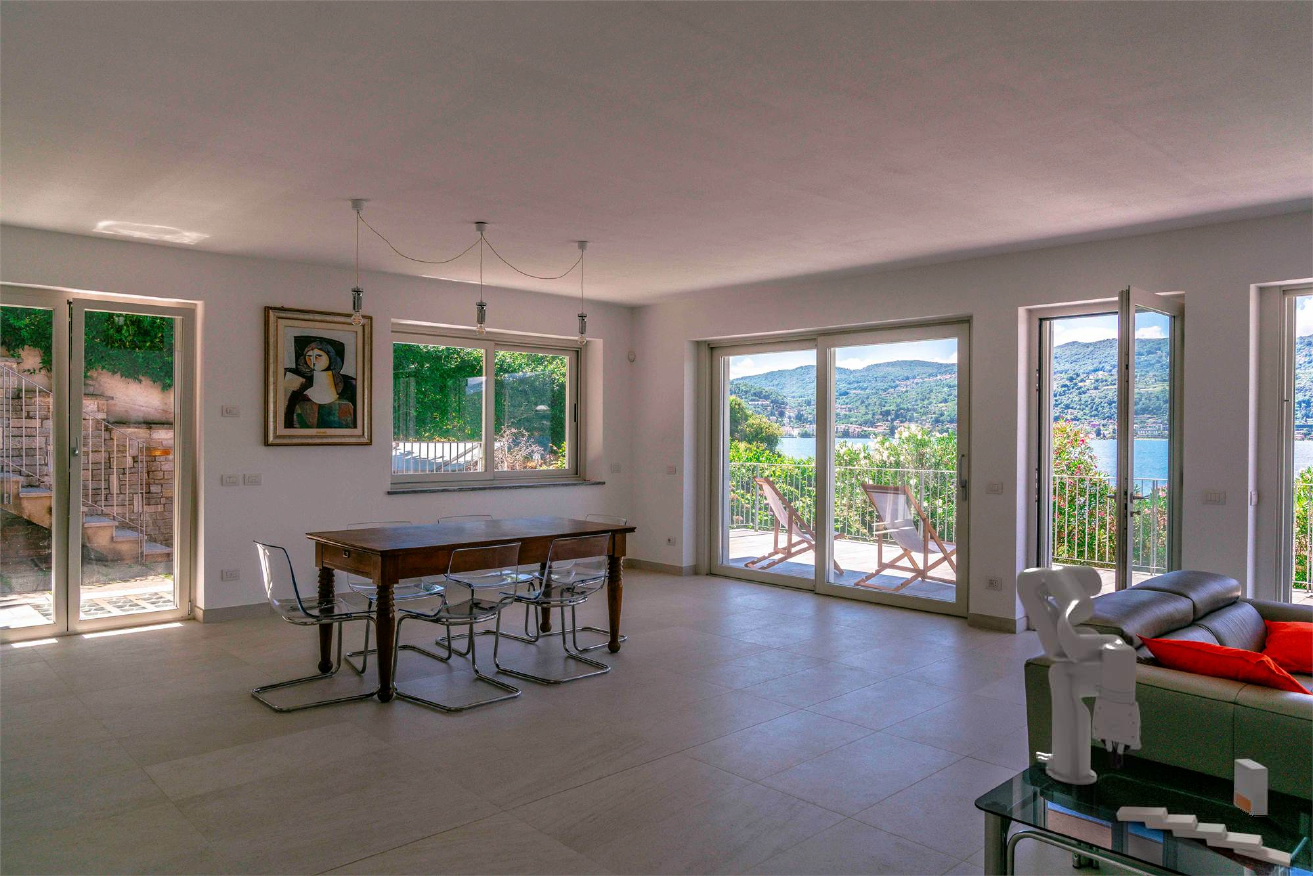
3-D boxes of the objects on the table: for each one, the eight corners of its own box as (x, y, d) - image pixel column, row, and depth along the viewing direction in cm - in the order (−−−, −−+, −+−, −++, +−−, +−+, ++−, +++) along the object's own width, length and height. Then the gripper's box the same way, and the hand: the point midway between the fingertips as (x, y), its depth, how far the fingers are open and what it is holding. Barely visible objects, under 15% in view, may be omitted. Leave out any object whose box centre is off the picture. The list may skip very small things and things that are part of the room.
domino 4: (1206, 838, 194) (1258, 843, 188) (1209, 830, 198) (1261, 835, 191) (1207, 845, 194) (1259, 851, 188) (1211, 837, 198) (1262, 842, 191)
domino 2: (1144, 821, 202) (1191, 822, 196) (1149, 814, 206) (1195, 815, 200) (1146, 828, 202) (1193, 830, 196) (1151, 820, 206) (1197, 822, 199)
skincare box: (1233, 805, 214) (1233, 759, 213) (1248, 805, 214) (1249, 758, 214) (1252, 817, 208) (1252, 769, 207) (1268, 816, 208) (1268, 768, 208)
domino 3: (1178, 828, 202) (1226, 831, 196) (1173, 836, 198) (1223, 839, 192) (1176, 821, 202) (1224, 824, 196) (1172, 829, 199) (1221, 832, 192)
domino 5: (1234, 848, 191) (1289, 862, 184) (1237, 839, 195) (1291, 853, 188) (1234, 855, 191) (1289, 870, 184) (1236, 846, 195) (1291, 861, 188)
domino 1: (1116, 813, 206) (1161, 815, 200) (1121, 806, 210) (1166, 807, 204) (1118, 820, 206) (1163, 822, 200) (1123, 813, 210) (1167, 814, 203)
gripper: (1080, 691, 210) (1078, 763, 211) (1149, 706, 200) (1146, 781, 202) (1088, 683, 216) (1086, 753, 217) (1155, 697, 206) (1152, 770, 207)
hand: (1115, 766), depth 209 cm, fingers closed
